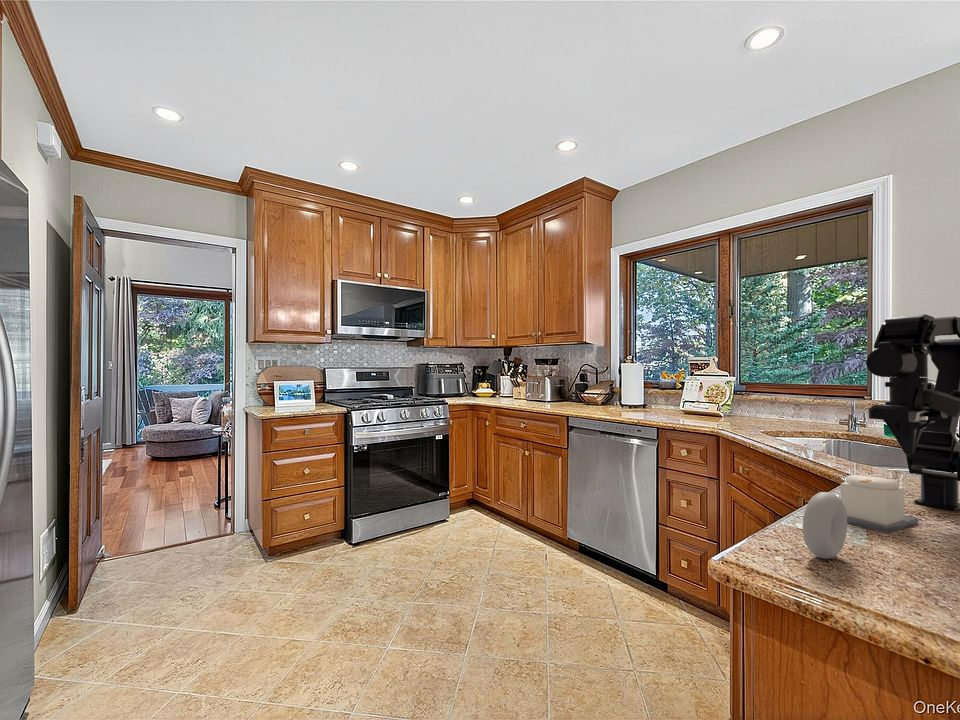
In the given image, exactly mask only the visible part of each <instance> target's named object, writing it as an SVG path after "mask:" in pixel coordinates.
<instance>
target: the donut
mask: <svg viewBox="0 0 960 720" xmlns="http://www.w3.org/2000/svg"><path fill="white" fill-rule="evenodd" d="M802 520H803V521H802V533H803V534H802V535H803V539H804V543H805V545H806V547H807V550H808V551H809V552H810V553H812V554H813V555H814V556H815V557H817V558H819V559H824V560H827V559H833V558H835V557H837V555H838V554H840V552H841V550H842V549H843V547H844V544H845V542H846V538H847V537H846V536H847V533H848V532H847V531H848V523H847V514H846V509H845V506H844V504H843V502H842V501H841V498H840V497H839V496H837V495H836V494H834V493H832V492H828V491H820V492H817V493H816V494H814V495H813V496H812V497H810V499H809V501H808V503H807V504H806V507H805V510H804V514H803V519H802Z"/></svg>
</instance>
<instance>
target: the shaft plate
mask: <svg viewBox="0 0 960 720" xmlns="http://www.w3.org/2000/svg"><path fill="white" fill-rule="evenodd" d="M847 524H849V525H853V526H857V527H861V528H864V529H868V530H872V531H877V532H880V533H885V534H890V533H894V532H897V531H899V530H903V529H906V528H909V527H912V526H915V525H918V524H919V517H918V518H917V517H913V516H909V515H905V514H904V520H902V521H899V522H895V523H892V524H889V525H883V524H879V523H875V522H871V521H867V520H863V519H859V518H855V517H850V516H847Z"/></svg>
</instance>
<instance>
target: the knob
mask: <svg viewBox="0 0 960 720" xmlns="http://www.w3.org/2000/svg"><path fill="white" fill-rule="evenodd" d="M840 500H841V501H842V502H843V504H844V506H845V509H846V514H847V516H850V517H855V518H859V519H863V520H867V521H871V522H875V523H879V524H883V525H889V524H892V523H895V522H899V521H902V520H904V515H905V487H903V486H900V483H899V482H897V481H896V480H892V479H889V478H884V477H877V476H869V475H859V474H858V475H846V476H845V482H840Z"/></svg>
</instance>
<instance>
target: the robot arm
mask: <svg viewBox="0 0 960 720" xmlns="http://www.w3.org/2000/svg"><path fill="white" fill-rule="evenodd" d="M939 336H957V337H958V338H952V339H951V338H949V339H938V340H936V337H939ZM873 348H874V350H873V351H871V352H870V353H869V354H868V356H867V359H866V360H865V361H866V362H865V364H866V368H867V370H868V371H869V372H870V373H871V374H873V375H874V376H877V377H881V378H888V379H889V381H885V382H884V387H885V388H888V389H889V390H888V391H889V401H885V403H884V404H874V405H872V406H871V407H869V408H868V419H871V420H881V421H883V422H884V423H885V424H886V425H887V427H888V428H889V430H890V432H891V433H892V435H893V436H894V438H895V439H896V442H897V443H898V445H899V446H900V448H901V449H902V451H903V454H905V457H906V462H907V468H908V472H909V474H912V475H918V476H919V475H920V498H918V499H917V498H916V499H913V503H914V504H919V505H924V506H928V507H929V506H930V507H934V508H940V509H944V510H949V511H957V510H960V502H959V501H960V500H959V482H960V442H959V440H958V439H957V437H956V434H957V428H958V424H959V419H960V316H959V317H957V316H955V315H954V316H946V317H934V316H932V315H930V314H926V313H925V314H915V315H902V316H901V315H900V316H889V317H887V318H886V319H884V322H883V323H882V324H881V325H880V328H879V330H878V334H877V336H876V339H875V341H874V344H873ZM928 355H929V356H930V360H931V362H932V363H933V365H934V366H935V367H936V370H937V375H936V381H935V384H934V383H933V382H929V373H928V372H929V368H928V367H929V366H928V365H929V364H928V362H929V361H928V360H929V359H928V357H929V356H928Z"/></svg>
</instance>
